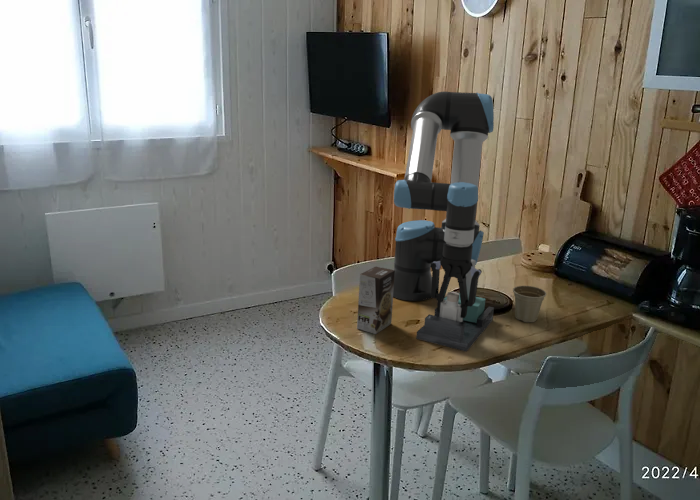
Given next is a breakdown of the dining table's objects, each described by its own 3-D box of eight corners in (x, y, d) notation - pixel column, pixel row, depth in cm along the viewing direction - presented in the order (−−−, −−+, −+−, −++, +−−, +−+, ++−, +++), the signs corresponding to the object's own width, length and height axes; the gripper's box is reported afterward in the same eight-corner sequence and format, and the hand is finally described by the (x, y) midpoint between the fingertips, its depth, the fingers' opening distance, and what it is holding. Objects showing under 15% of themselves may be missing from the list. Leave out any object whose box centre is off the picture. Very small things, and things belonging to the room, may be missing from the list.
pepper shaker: (446, 322, 168) (449, 290, 165) (460, 326, 165) (463, 293, 163) (440, 327, 164) (443, 294, 162) (453, 330, 162) (457, 297, 159)
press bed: (416, 338, 163) (417, 316, 161) (447, 309, 184) (448, 289, 182) (466, 351, 157) (468, 328, 155) (492, 320, 177) (495, 299, 175)
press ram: (442, 315, 174) (447, 261, 169) (450, 307, 179) (455, 255, 175) (476, 323, 169) (482, 268, 164) (483, 314, 175) (489, 262, 170)
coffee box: (376, 334, 165) (379, 278, 160) (356, 328, 168) (358, 273, 163) (392, 323, 172) (395, 269, 167) (372, 318, 175) (375, 265, 171)
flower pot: (525, 327, 173) (528, 299, 171) (502, 315, 181) (506, 288, 179) (549, 322, 178) (553, 294, 175) (526, 310, 186) (530, 283, 183)
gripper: (421, 240, 159) (415, 323, 165) (486, 252, 151) (476, 338, 158) (432, 234, 165) (425, 314, 172) (494, 245, 157) (485, 328, 164)
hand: (450, 325), depth 165 cm, fingers closed on pepper shaker, 4 cm apart
